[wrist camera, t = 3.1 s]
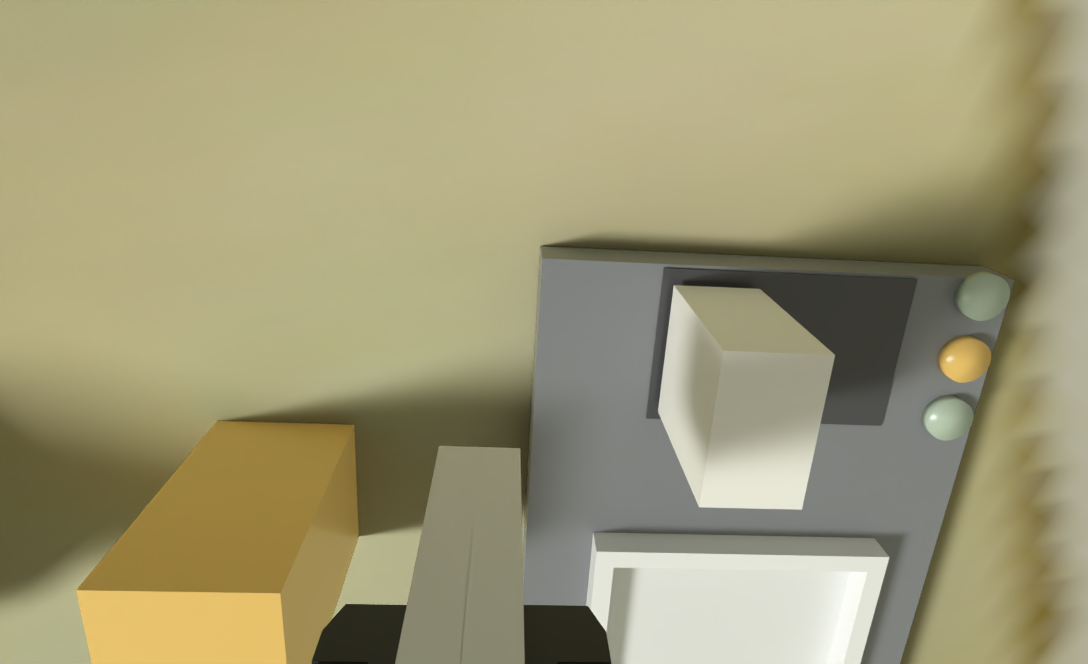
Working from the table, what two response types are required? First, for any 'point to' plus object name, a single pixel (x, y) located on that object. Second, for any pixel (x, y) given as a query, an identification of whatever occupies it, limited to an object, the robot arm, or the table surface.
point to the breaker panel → (742, 533)
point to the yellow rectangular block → (232, 552)
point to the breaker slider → (742, 397)
